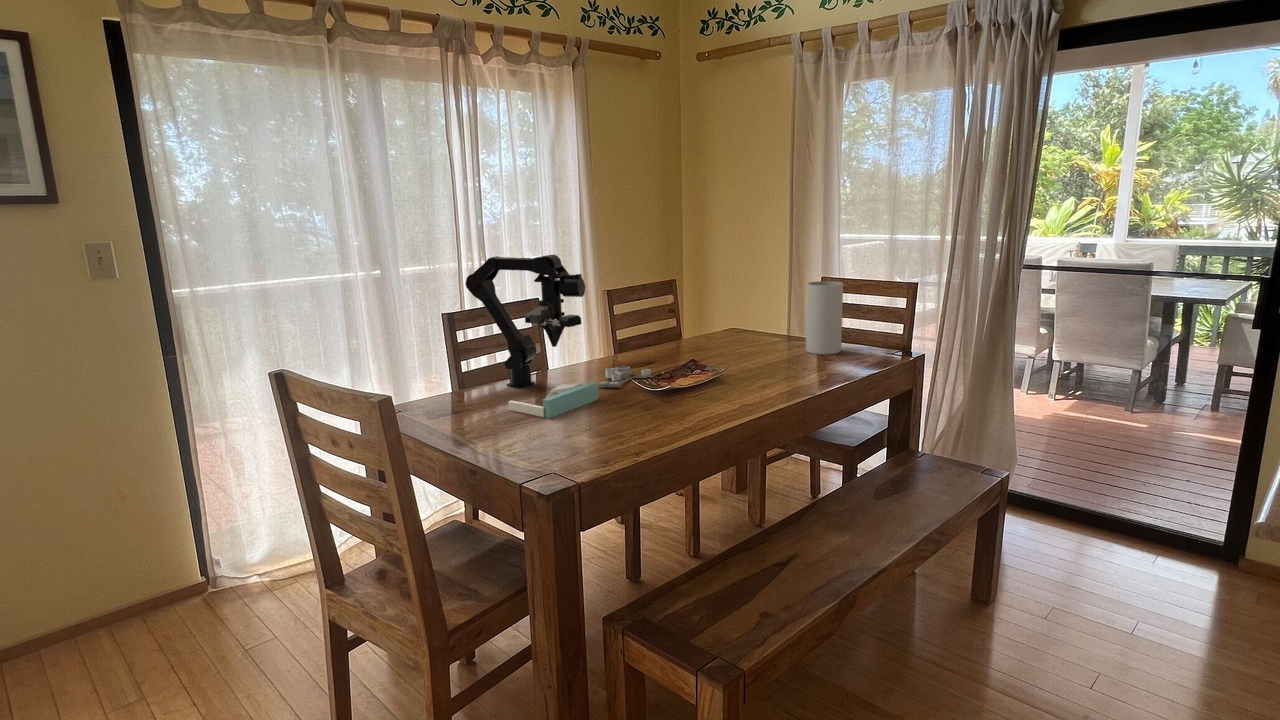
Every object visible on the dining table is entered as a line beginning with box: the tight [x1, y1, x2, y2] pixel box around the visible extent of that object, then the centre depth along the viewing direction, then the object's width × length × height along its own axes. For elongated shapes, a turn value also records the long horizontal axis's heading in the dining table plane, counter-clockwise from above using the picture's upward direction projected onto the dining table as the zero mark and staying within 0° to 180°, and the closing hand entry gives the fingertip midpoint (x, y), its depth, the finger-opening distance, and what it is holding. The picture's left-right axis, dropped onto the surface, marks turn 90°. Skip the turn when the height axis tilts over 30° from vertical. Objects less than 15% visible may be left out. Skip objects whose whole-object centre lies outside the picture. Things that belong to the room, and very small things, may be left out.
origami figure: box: [545, 382, 583, 399], centre depth 205 cm, size 12×8×5 cm
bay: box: [508, 381, 599, 419], centre depth 203 cm, size 16×21×5 cm
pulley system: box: [598, 365, 665, 389], centre depth 229 cm, size 27×5×15 cm
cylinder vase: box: [805, 280, 844, 356], centre depth 257 cm, size 12×12×25 cm
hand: (554, 346), depth 220 cm, fingers closed
